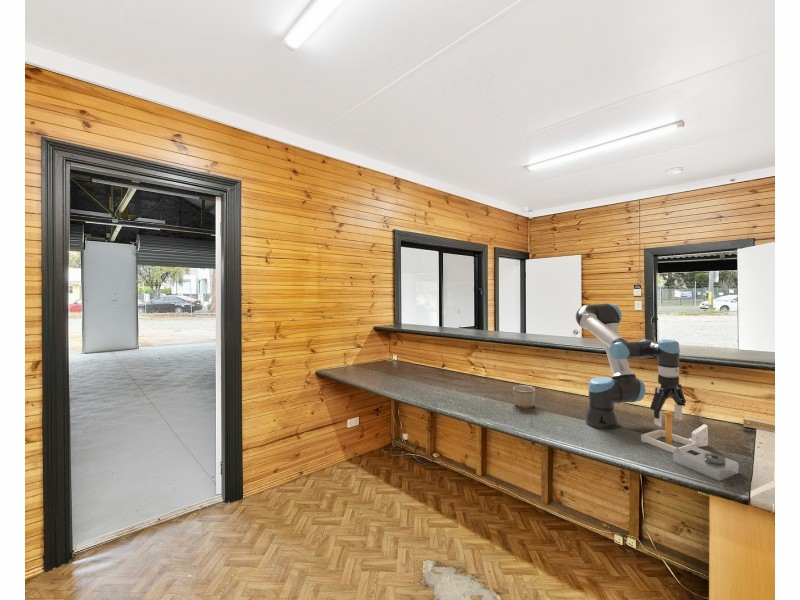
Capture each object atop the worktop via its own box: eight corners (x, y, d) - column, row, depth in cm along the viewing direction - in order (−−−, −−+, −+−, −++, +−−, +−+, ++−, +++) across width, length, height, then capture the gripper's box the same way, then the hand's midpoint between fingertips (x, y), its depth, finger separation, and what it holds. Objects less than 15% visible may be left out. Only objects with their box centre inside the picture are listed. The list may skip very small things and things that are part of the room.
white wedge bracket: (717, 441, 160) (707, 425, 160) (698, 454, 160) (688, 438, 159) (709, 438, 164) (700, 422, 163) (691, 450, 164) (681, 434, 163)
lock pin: (662, 444, 164) (662, 411, 164) (667, 442, 166) (667, 410, 165) (670, 447, 161) (669, 413, 161) (675, 445, 163) (674, 412, 162)
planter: (513, 408, 218) (512, 391, 217) (513, 401, 230) (513, 384, 229) (535, 409, 214) (535, 392, 213) (535, 402, 226) (534, 385, 225)
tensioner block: (672, 463, 149) (672, 445, 149) (691, 456, 154) (691, 439, 153) (719, 483, 134) (719, 463, 134) (738, 475, 139) (738, 455, 138)
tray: (641, 442, 169) (641, 434, 168) (660, 436, 173) (660, 429, 173) (678, 457, 154) (678, 449, 153) (698, 450, 158) (698, 442, 158)
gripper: (658, 381, 153) (658, 431, 155) (695, 373, 163) (695, 419, 164) (640, 377, 160) (640, 424, 162) (677, 369, 170) (677, 413, 171)
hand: (668, 422), depth 163 cm, fingers open, 13 cm apart
